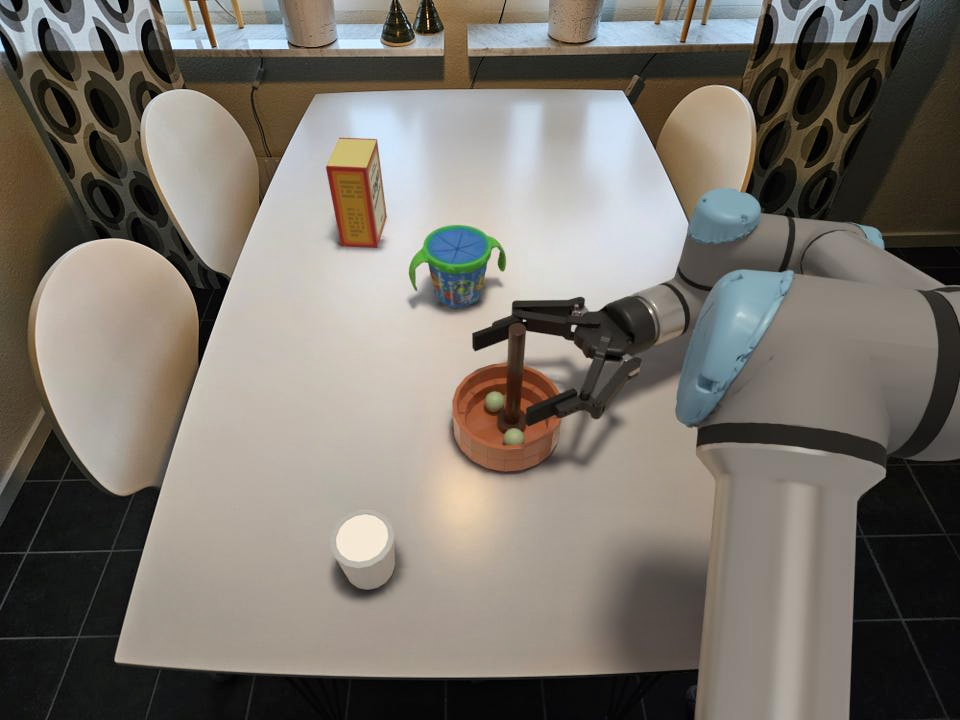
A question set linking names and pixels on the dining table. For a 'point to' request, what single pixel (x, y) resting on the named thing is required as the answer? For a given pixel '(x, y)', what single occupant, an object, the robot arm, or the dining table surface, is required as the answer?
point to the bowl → (480, 424)
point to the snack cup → (457, 263)
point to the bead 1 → (494, 401)
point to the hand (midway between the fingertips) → (498, 378)
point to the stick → (514, 381)
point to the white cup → (364, 548)
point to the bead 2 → (513, 437)
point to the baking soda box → (357, 191)
